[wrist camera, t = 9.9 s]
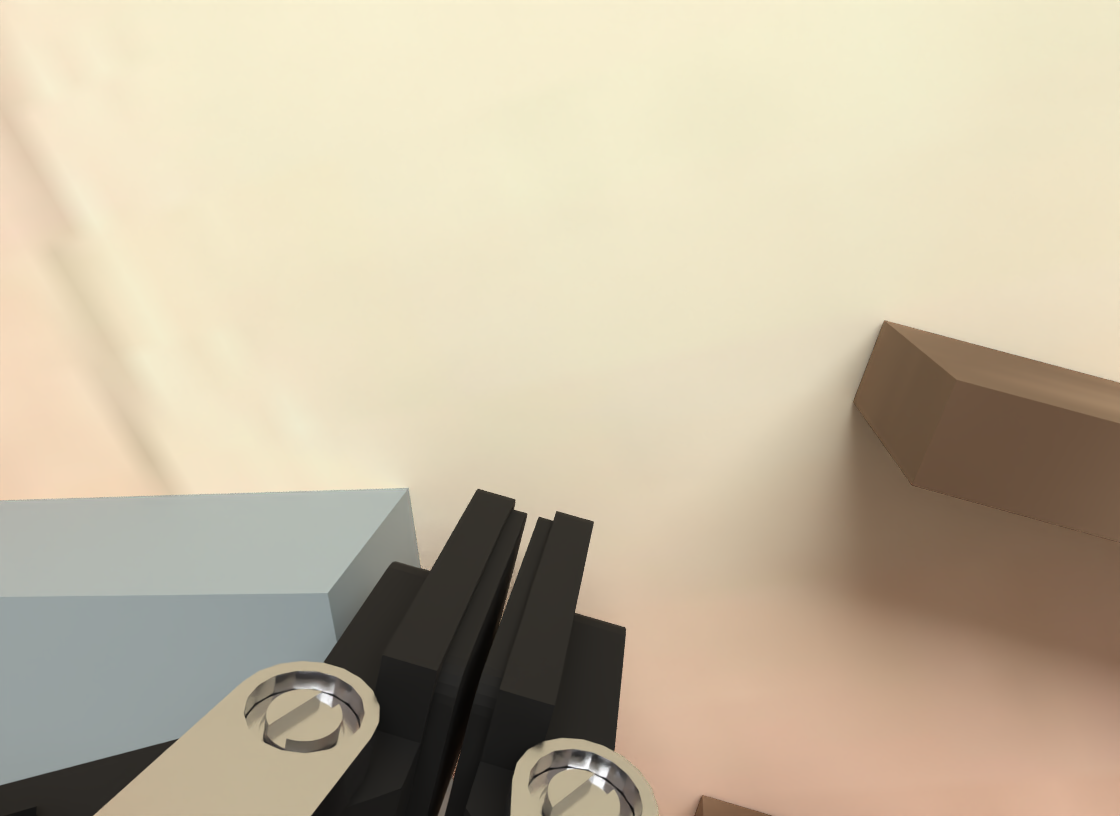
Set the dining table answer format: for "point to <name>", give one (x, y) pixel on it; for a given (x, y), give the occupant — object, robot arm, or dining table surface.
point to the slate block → (172, 608)
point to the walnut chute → (991, 436)
